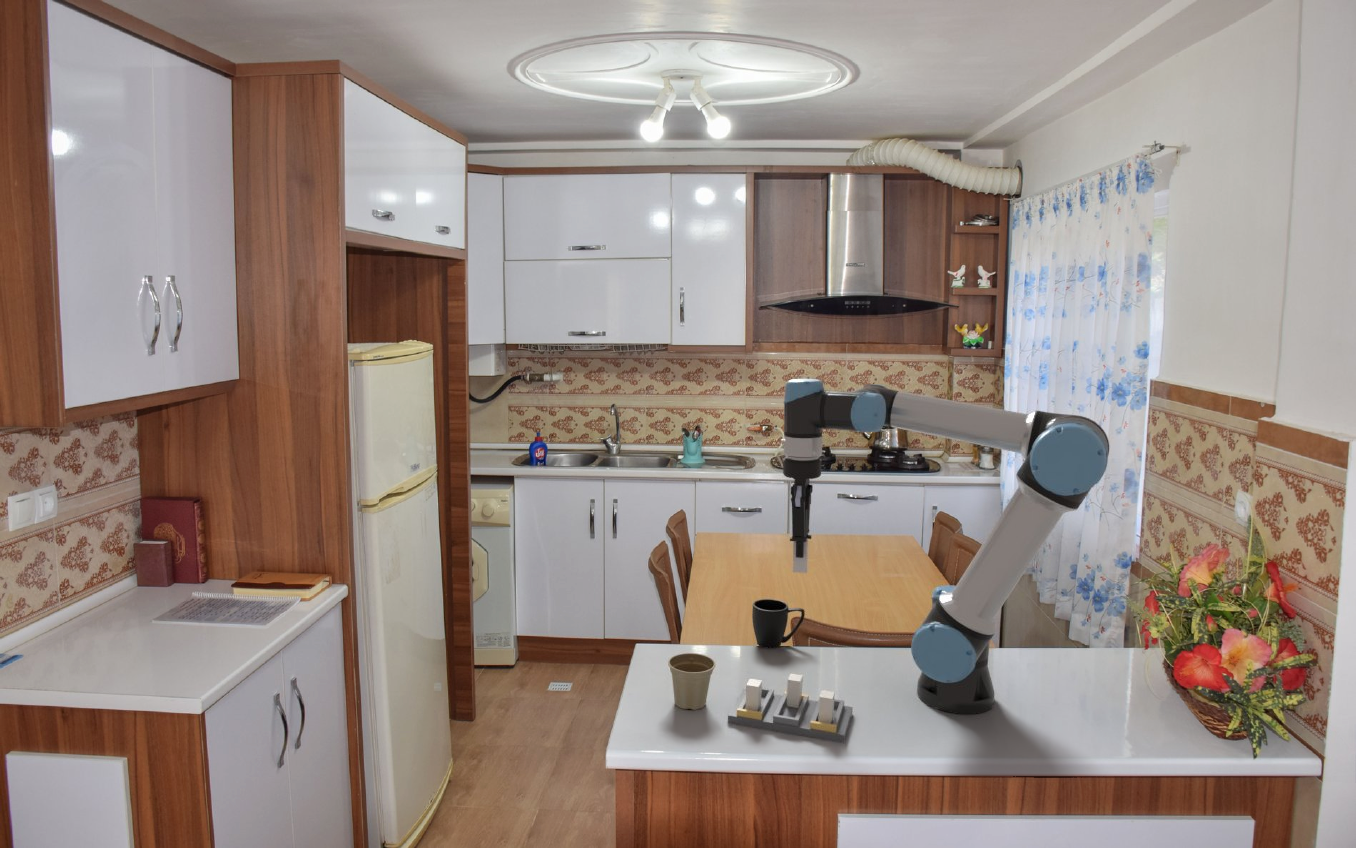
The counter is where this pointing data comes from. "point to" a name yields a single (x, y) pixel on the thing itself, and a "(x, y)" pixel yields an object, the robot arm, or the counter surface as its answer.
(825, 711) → the tab
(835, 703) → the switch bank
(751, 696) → the tab
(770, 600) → the mug
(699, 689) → the flower pot
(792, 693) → the tab
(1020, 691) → the counter surface
